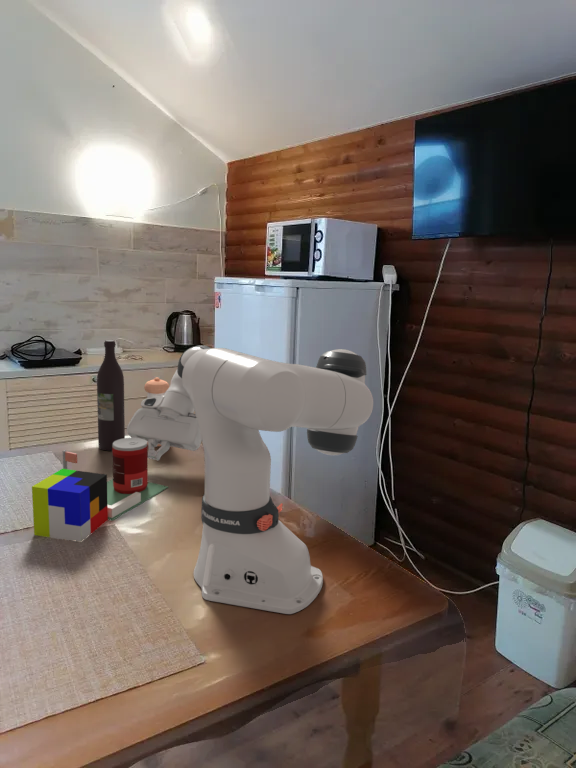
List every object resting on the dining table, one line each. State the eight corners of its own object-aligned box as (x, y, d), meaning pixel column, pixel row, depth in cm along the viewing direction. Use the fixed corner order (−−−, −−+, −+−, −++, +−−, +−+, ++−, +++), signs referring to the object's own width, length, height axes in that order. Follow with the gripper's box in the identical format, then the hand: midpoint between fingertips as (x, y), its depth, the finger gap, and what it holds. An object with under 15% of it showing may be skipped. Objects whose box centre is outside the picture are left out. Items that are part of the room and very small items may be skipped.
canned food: (153, 483, 141) (152, 439, 139) (138, 496, 133) (138, 449, 131) (122, 479, 142) (122, 435, 140) (107, 492, 134) (106, 446, 132)
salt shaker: (146, 447, 167) (145, 380, 163) (142, 439, 173) (142, 375, 169) (172, 445, 169) (172, 379, 165) (167, 437, 176) (167, 374, 172)
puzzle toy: (81, 542, 112) (79, 493, 110) (34, 535, 114) (31, 486, 112) (107, 520, 122) (106, 474, 120) (63, 514, 124) (62, 468, 122)
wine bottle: (96, 444, 167) (93, 339, 160) (122, 442, 170) (120, 338, 164) (100, 452, 161) (98, 343, 154) (127, 449, 164) (125, 342, 157)
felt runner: (168, 487, 140) (168, 486, 140) (111, 520, 122) (111, 519, 122) (120, 476, 145) (120, 475, 145) (59, 506, 127) (59, 505, 127)
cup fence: (140, 501, 131) (140, 449, 128) (112, 517, 122) (111, 462, 120) (92, 489, 136) (91, 439, 133) (62, 504, 127) (60, 451, 125)
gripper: (215, 423, 150) (193, 472, 143) (148, 411, 157) (124, 457, 151) (206, 410, 145) (183, 460, 138) (137, 398, 152) (112, 445, 146)
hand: (152, 458), depth 144 cm, fingers closed
